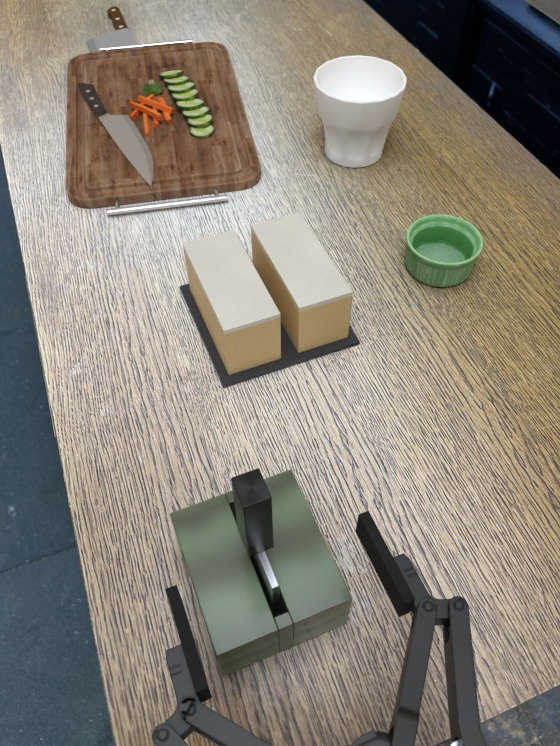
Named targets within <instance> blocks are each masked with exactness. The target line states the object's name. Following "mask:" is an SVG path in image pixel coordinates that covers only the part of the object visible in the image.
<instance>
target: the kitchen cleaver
mask: <svg viewBox="0 0 560 746" xmlns="http://www.w3.org/2000/svg"><path fill="white" fill-rule="evenodd" d="M106 13H107V17H108V18H110V19H111V22H112V24H113V27H114V30H112V31H110V32H107V33H104V34H101V35H99V36H96V37H93V38H89V39H87V40H86V44H87V48H88V50H89V53H94V52H100V49H99V48H103V47H113V46H124V45H135V44H138V42H137V41H136V40H135V39H134V37H133V35H132V33H131V32H130V29H129V26H128V25H127V22H126V21H125V17H124V16H123V13H122V12H121V9H120V8H119V7H118V6H115V5H114V6H111V7H109V8H108V9H107V10H106Z"/></svg>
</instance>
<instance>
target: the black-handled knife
mask: <svg viewBox="0 0 560 746" xmlns="http://www.w3.org/2000/svg"><path fill="white" fill-rule="evenodd" d="M264 479H265V478H264V477H263V474H262V472H261V469H260V468H254V469H251V470H249V471H246V472H243V473H241V474H238V475H235V476H233V477H231V478H230V482H231V488H232V490H231V491H233V497H234V504H235V511H236V519H237V526H238V531H239V533H240V536H241V539H242V541H243V544H244V546H245V549H246V551H247V554H248V556H249V557H250V559H251V561H252V564H253V566H254V569H255V571H256V574H257V576H258V579H259V581H260V584H261V587H262V589H263V592H264V594H265V597H266V599H267V602H268V604H269V607H270V610H271V612H272V615H273V617H276V616H279V615H280V600H279V584H278V581H277V579H276V576H275V574H274V571H273V569H272V567H271V564H270V562H269V559H268V557H267V554H266V552H265V551H266V550H268V549H271V548H273V547H274V542H273V517H272V497H271V494H270V492H269V490H268V488H267V485H266V483H265V481H264Z"/></svg>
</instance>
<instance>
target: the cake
mask: <svg viewBox="0 0 560 746" xmlns="http://www.w3.org/2000/svg"><path fill="white" fill-rule="evenodd" d="M250 237H251V238H250V239H251V257H252V259H251V258H250V256H249V254H248V252H247V251H246V249H245V247H244V245H243V244H242V242H241V240H240V239H239V237H238V234H237V233H236V231H235V230H234V229H231V230H230V229H229V230H226V231H223V232H219V233H215V234H211V235H207V236H204V237H199V238H196V239H193V240H189V241H184V242H182V249H183V256H184V262H185V267H186V274H187V280H188V283H186V284H183V285H179V290H180V292H181V294H182V297H183V299H184V302H185V304H186V307H187V309H188V311H189V313H190V316H191V317H192V318H191V319H193V322H194V324H195V326H196V329H197V332H198V333H199V336H200V338H201V340H202V343H203V345H204V348H205V350H206V352H207V354H208V356H209V358H210V361H211V363H212V365H213V368H214V371H215V372H216V375H217V377H218V379H219V381H220V384H221V386H222V388H223V389H224V388H228V387H230V386H231V387H232V386H233V385H237V384H240V383H243V382H247V381H250V380H252V379H255V378H259V377H262V376H265V375H268V374H271V373H274V372H278V371H281V370H283V369H286V368H290V367H292V366H296V365H299V364H302V363H305V362H308V361H311V360H315V359H317V358H318V359H319V358H321V357H324V356H326V355H329V354H332V353H336V352H339V351H342V350H345V349H349V348H351V347H355V346H358V345H360V343H361V340H360V339H359V337H358V336H357V334H356V333H355V331H354V329H353V328H352V326H351V325H350V321H351V312H352V304H353V303H352V302H353V294H354V291H353V290H352V288H351V286H350V285H349V284H348V282H347V281H346V279H345V278H344V277H343V275H342V273H341V272H340V270H339V269H338V267H337V266H336V264H335V263H334V261H333V260H332V258H331V256H330V255H329V254H328V252H327V251H326V249H325V248H324V246H323V245H322V244H321V242H320V240H319V239H318V238H317V236H316V235H315V233H314V232H313V230H312V229H311V227H310V225H309V224H308V223H307V221H306V219H305V218H304V217H303V215H302V214H301V212H300V211H298V212H293V213H290V214H287V215H283V216H278V217H275V218H271V219H267V220H263V221H260V222H256V223H253V224H250Z"/></svg>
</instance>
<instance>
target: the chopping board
mask: <svg viewBox="0 0 560 746" xmlns="http://www.w3.org/2000/svg"><path fill="white" fill-rule="evenodd" d="M99 49H100V52H94V53H90V52H86V53H81V54H78V55H75V56H73V57H71V59H69V61H68V62H67V67H66V68H67V69H66V70H67V72H66V73H67V74H66V122H65V123H66V125H65V126H66V127H65V129H66V132H65V134H66V135H65V136H66V137H65V180H64V181H65V186H64V187H65V191H66V194H67V197H68V200H69V202H70V203H71V204H72V205H74V206H75V207H78V208H83V209H96V208H105V207H112V206H113V207H114V208H106V210H105V211H106V215H107V216H114V215H123V214H129V213H130V214H131V213H139V212H147V211H154V210H163V209H170V208H179V207H187V206H196V205H205V204H213V203H219V202H225V201H226V202H228V201H229V196H228V194H220V193H228V192H229V193H230V192H237V191H244V190H247V189H251V188H252V187H254V186H255V185H257V184H258V183H259V182H260V180H261V177H262V169H261V168H262V165H261V162H260V157H259V155H258V152H257V148H256V144H255V141H254V137H253V134H252V130H251V127H250V123H249V120H248V116H247V113H246V110H245V106H244V102H243V99H242V95H241V93H240V88H239V85H238V81H237V78H236V75H235V72H234V71H235V70H234V68H233V65H232V61H231V58H230V57H231V56H230V54H229V51H228V48H227V47H226V46H225V45H224V44H222V43H220V42H216V41H201V42H200V41H199V42H194V40H193V38H191V39H190V38H189V39H179V40H168V41H157V42H147V43H145V42H144V43H137V44H135V45H124V46H113V47H103V48H99ZM213 194H214V195H213ZM203 195H204V196H205V195H211V196H205V197H204V196H203ZM196 196H197V197H196ZM198 196H203V197H198ZM188 197H195V198H188ZM178 198H186V199H180V200H178ZM187 198H188V199H187ZM170 199H171V201H163V200H170ZM172 199H177V200H172ZM154 201H163V202H154ZM146 202H154V203H146ZM138 203H139V204H138ZM140 203H145V204H140ZM129 204H136V205H130V206H122V207H120V206H121V205H129ZM137 204H138V205H137Z"/></svg>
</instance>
